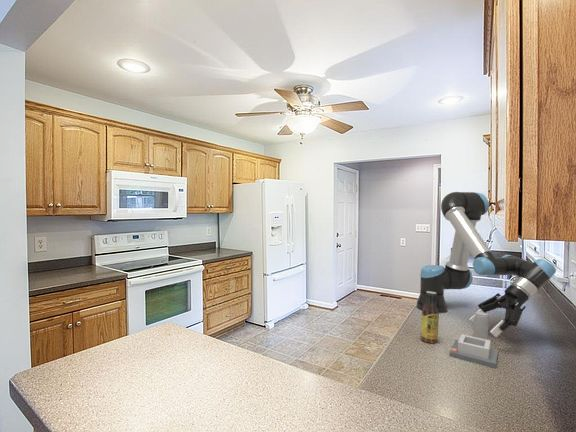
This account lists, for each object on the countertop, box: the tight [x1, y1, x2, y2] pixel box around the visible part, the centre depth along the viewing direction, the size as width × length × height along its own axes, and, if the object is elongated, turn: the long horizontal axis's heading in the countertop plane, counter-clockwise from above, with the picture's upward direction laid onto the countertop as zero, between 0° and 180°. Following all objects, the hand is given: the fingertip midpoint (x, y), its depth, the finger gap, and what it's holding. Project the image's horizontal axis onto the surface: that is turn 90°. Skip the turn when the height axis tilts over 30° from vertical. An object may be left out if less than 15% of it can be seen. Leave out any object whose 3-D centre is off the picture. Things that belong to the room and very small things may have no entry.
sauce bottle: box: [420, 291, 440, 344], centre depth 126 cm, size 6×6×20 cm
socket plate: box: [449, 334, 499, 369], centre depth 114 cm, size 14×14×5 cm
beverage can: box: [473, 311, 490, 340], centre depth 124 cm, size 5×5×12 cm
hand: (481, 327), depth 124 cm, fingers open, 13 cm apart
